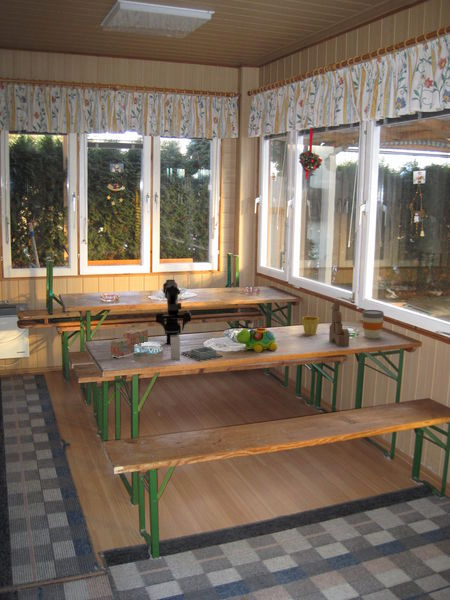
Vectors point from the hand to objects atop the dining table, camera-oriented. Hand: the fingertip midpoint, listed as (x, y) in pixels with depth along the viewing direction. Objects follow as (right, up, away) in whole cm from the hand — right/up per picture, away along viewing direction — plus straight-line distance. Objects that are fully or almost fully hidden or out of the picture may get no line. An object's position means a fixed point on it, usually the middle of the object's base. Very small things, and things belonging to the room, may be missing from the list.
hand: (174, 330), depth 337 cm
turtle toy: (+45, -11, +15) cm, 48 cm away
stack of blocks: (-24, -13, +5) cm, 28 cm away
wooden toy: (+92, -9, +27) cm, 96 cm away
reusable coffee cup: (+115, -6, +42) cm, 123 cm away
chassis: (+15, -13, +2) cm, 20 cm away
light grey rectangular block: (+1, -15, -5) cm, 16 cm away
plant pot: (+79, -5, +50) cm, 93 cm away
